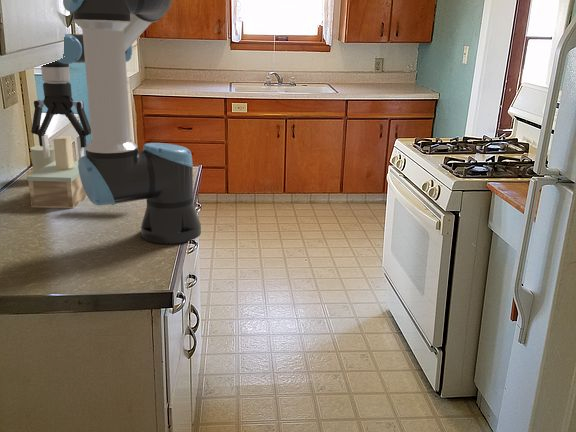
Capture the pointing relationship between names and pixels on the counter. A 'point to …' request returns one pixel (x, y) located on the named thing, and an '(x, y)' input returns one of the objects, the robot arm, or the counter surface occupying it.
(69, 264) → the counter surface
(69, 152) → the lid
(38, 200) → the light wood open box
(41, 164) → the can
